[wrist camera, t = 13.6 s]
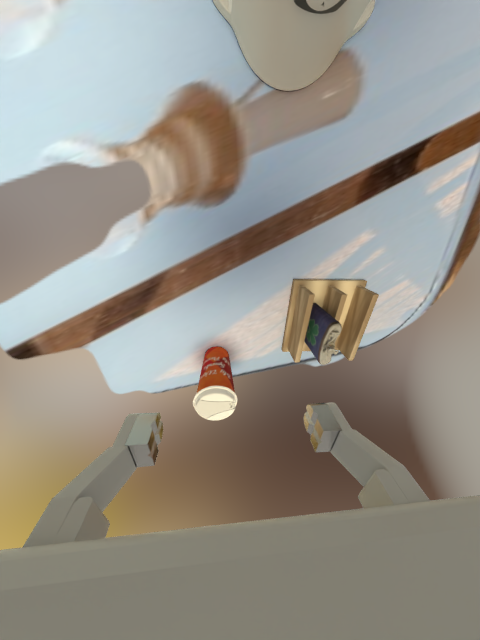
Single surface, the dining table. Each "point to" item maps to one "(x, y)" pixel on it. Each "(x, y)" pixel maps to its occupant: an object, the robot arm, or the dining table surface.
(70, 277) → the dining table surface
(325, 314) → the flask
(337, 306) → the rack
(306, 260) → the dining table surface
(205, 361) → the paper cup
